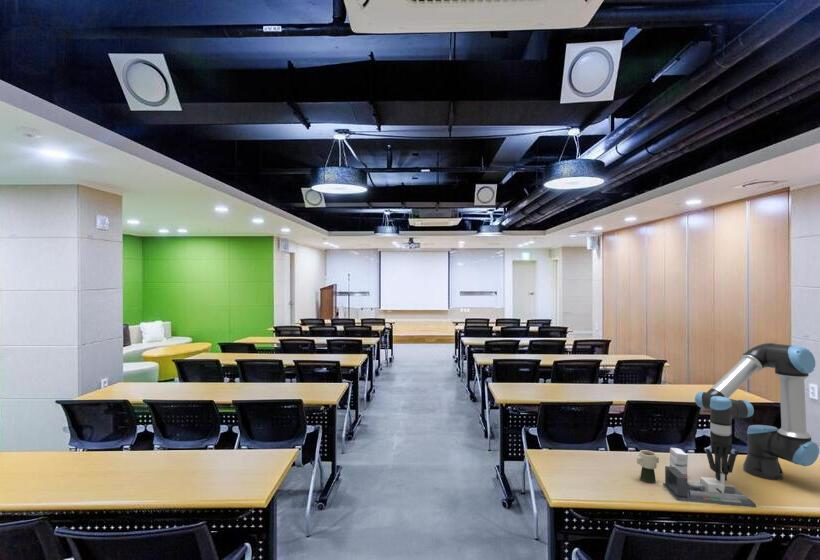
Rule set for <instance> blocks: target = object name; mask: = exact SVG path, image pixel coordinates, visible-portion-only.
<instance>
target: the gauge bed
mask: <svg viewBox="0 0 820 560" xmlns="http://www.w3.org/2000/svg"><path fill="white" fill-rule="evenodd" d="M664 468H665V469H664V470H665V471H664V475H665V476H664V482H662V486H663V487H664V488H665V489H666V490H667V491H668V493H669V494H671V496H672V497H674V499H675V500H676V501H680V502H691V503H693V502H694V503H703V504H717V505H729V506H736V507H737V506H738V507H749V508H750V507H751V508H757V504H756V503H755V502H753V500H751V498H749V497H748V495H747V494H746V495H745V494H743V493H742V492H741V491H739V490H738V489H737V488H736V487H735V486H734V485H729V484H728V485H727V484H725V489H724V493H712V492H704V491H702V490H701V489H700V488H695V487H689V486H688V483H694V484H700V482H688V476H687V477H685V476H684V475H683V474H682V473H681V472H680V471H679V470H678V469H676V468H675V467H670V465H669V466H668V465H667V466H666V465H665V467H664Z"/></svg>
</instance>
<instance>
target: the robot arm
mask: <svg viewBox="0 0 820 560" xmlns="http://www.w3.org/2000/svg"><path fill="white" fill-rule="evenodd" d="M765 368H772V369H774V374H775V375H776V376H778V377H779V399H780V402H779V403H780V419H781V420H780V424H781V427H780V428H778V427H776V426H772V425H767V424H765V425H764V424H752V425H749V426H748V427H747V433H746V436H747V441H746V442H747V454H746V457H745V459H744V462H743V464H742V465H743V466H742V467H743V471H744V472H746V473H748V474H749V475H752V476H755V477H758V478H760V479H761V478H762V479H766V478H767V480H773V479H774V480H776V481H777V480H778V479H780V480H782V478H783V479H784V472H783V469H782V466H781V464H780V461H779V459H781V460H783V461H787V462H790V463H793V464H794V465H799V466H803V467H808V466H809V467H810V466H812V465H813V464H815V462H816V461H817V459H818V458H819V454H820V448H819V445H818V444H817V443H816V442H814V441H812V435H811V434H810V433H809V432H808V431H807V415H806V414H807V412H806V390H805V389H806V388H805V379H807V378H808V377H809V376H810V375H809V374H811V373H813V372H814V371H815V368H816V359H815V356H814V353H812V351H811V350H810V349H809V348H806V347H803V346H799V345H792V344H779V343H773V342H772V343H771V342H766V343H762V344H757V345H754V347H752V348H749V349H748V350H746V352H744V353H743V354H742V355H741V356H740V357H739V361H738V362H737V363H736V364H735V365H734V366H733V367H732V368H731V369H729V370H728V371H727V372H726V373H725V375H724V374H723V376H722V377H721V378H720V379H719V380H718V381H716V382H715V383H714V385H712V387H710V388H709V390H707V391H698V392H696V394H695V396H694V402H695V404H696V405H697V407H699V408H701V409H705V410H707V411H710V412H709V414H710V415H709V416H710V420H709V421H710V422H709V423H710V424H709V425H710V427H709V428H710V429H709V430H710V431H711V432H710V434H709V436H710V438H709V439H710V443H709V446H707V447H703V451H704V452H705V453H706V457H707V461H708V465H709V468H710V470H711V471H712V472H714V473H715V479H717V480H718V481H719V482H720V483H722V484H723V485H724V489H725V485H726V482H727V480H728V475H729V473H730V474H731V473H733V469H734V466H735V462H736V458H737V456H738V455H739V451H738V450H737V449H734V448H733V446H732V443H733V441H732V437H733V436H732V434H733V431H732V428H733V427H732V425H733V424H732V420H736V419H746V418H750V417H752V416H753V415H754V412H755V409H754V406H753V405H752V403H751V402H750V401H748V400H745V399H738V400H737V399H733V398H730V397H731V396H732V395H733V394H734V393H735V392H736V391H737V390H738V389H739V388H740V387H742V385H744V384H745V382H747V380H749V378H751V377H752V376H753V375H754V374H755V373H756V372H760V371H762V370H763V369H765ZM713 454H714V455H713Z"/></svg>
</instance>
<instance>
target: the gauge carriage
mask: <svg viewBox="0 0 820 560" xmlns="http://www.w3.org/2000/svg"><path fill="white" fill-rule="evenodd" d="M694 483H695V482H692V483H688V486H689V487H695V488H700V489H701V490H702V491H704V492H712V493H724V485H723V484H722V483H720V482H719V481H718V480H717V479H716V477H705V476H703V477H702V476H700V477H699V483H700V484H694Z"/></svg>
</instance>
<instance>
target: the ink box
mask: <svg viewBox="0 0 820 560" xmlns="http://www.w3.org/2000/svg"><path fill="white" fill-rule="evenodd" d="M688 458H689V456H688V454H687V453H686V452H685V451H684V450H683V449H682V448H677V447H670V448H669V467H675V468H676V469H678V470H679V471H680V472H681V473H682V474H683V475H684V476H685V477H687V478H688Z"/></svg>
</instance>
